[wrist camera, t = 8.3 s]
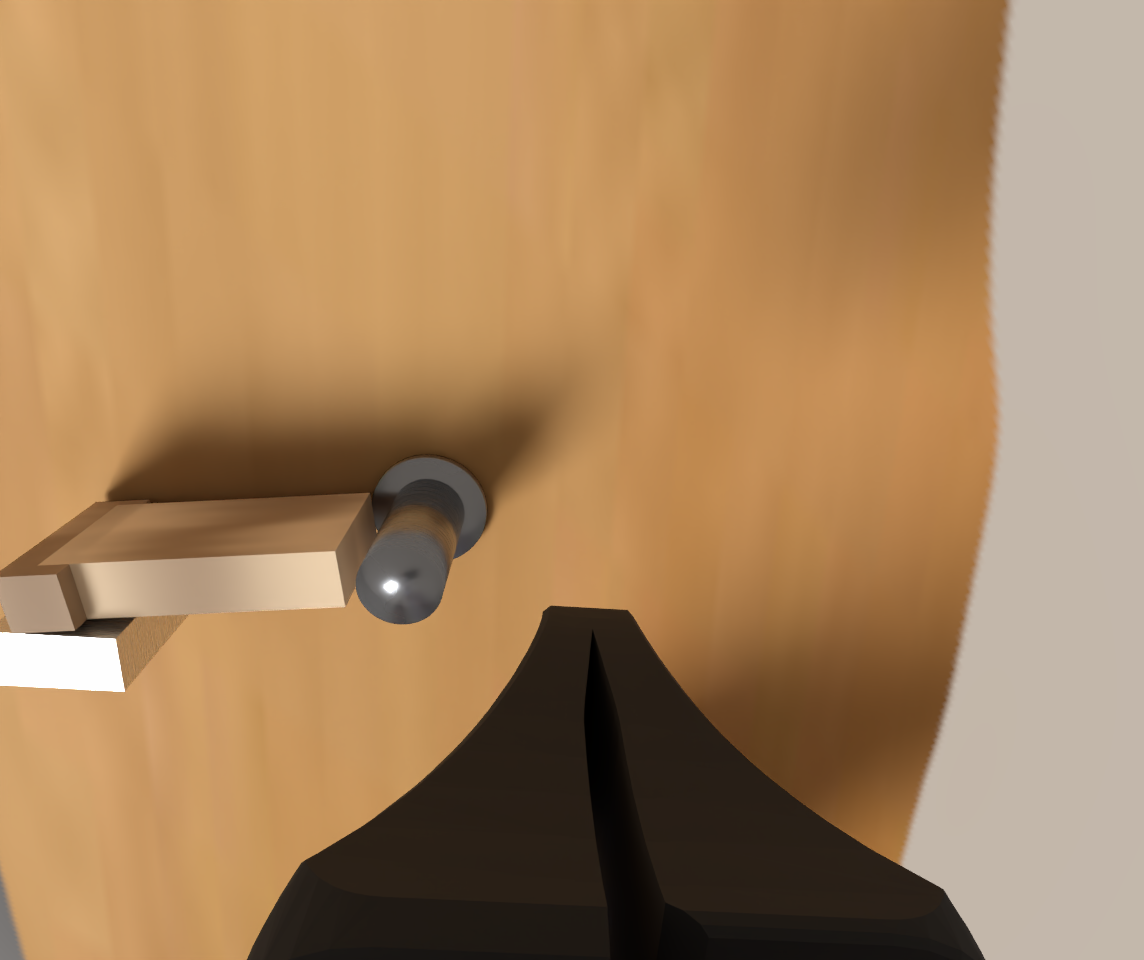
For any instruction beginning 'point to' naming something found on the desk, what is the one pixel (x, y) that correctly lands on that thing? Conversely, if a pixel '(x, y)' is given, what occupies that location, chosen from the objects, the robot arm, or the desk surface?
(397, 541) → the pivot post
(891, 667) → the desk surface
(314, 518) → the light wooden bar
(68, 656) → the white-faced wooden block
